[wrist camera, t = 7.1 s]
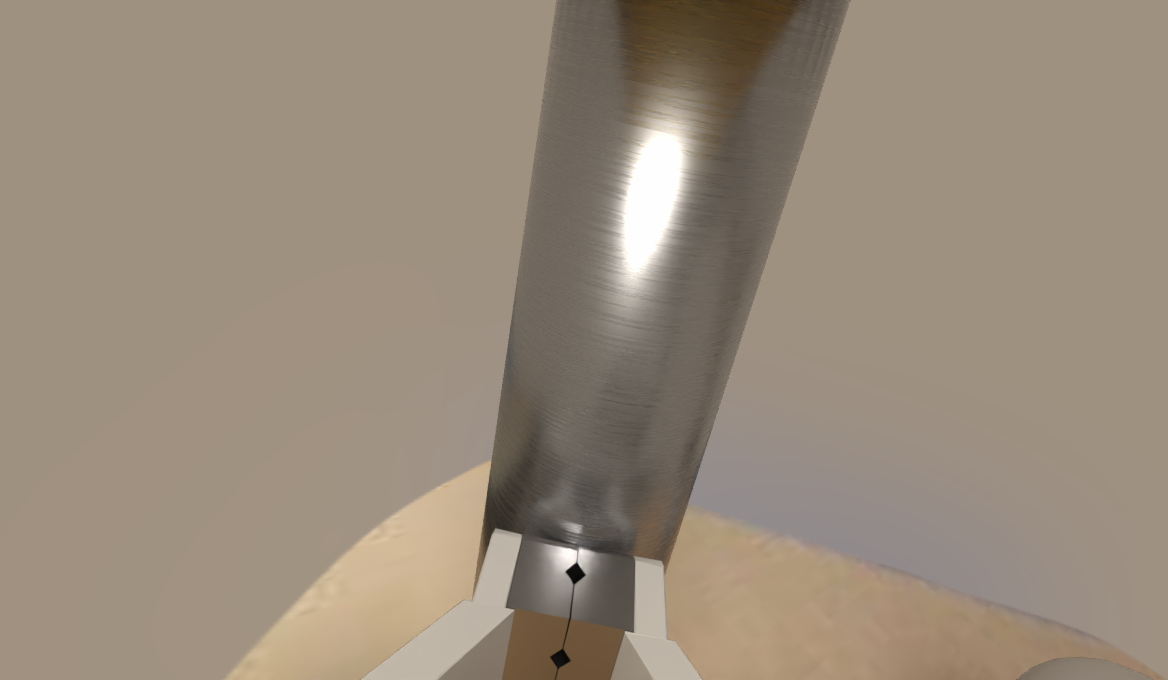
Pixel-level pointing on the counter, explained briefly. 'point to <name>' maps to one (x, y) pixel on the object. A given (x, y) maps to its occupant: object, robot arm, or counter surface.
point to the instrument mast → (644, 255)
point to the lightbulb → (1081, 670)
